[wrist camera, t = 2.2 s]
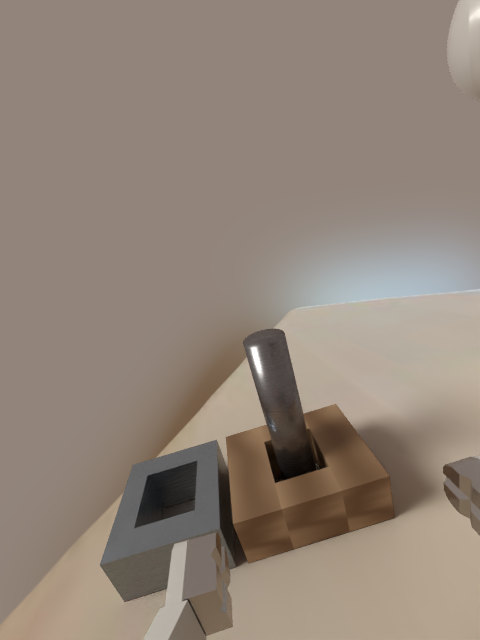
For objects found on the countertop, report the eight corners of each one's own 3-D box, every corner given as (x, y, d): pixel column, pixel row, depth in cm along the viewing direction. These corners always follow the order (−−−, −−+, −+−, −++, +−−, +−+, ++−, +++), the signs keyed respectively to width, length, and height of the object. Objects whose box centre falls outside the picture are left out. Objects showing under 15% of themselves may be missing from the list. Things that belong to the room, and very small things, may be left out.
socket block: (228, 471, 30) (216, 439, 28) (236, 567, 21) (219, 528, 20) (148, 495, 30) (132, 465, 28) (124, 601, 21) (99, 564, 20)
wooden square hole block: (342, 437, 30) (335, 404, 29) (394, 517, 22) (389, 476, 20) (237, 469, 30) (225, 437, 28) (248, 563, 21) (232, 524, 20)
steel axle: (313, 470, 27) (278, 325, 22) (326, 500, 24) (289, 339, 19) (282, 480, 27) (240, 336, 22) (291, 511, 24) (246, 352, 19)
